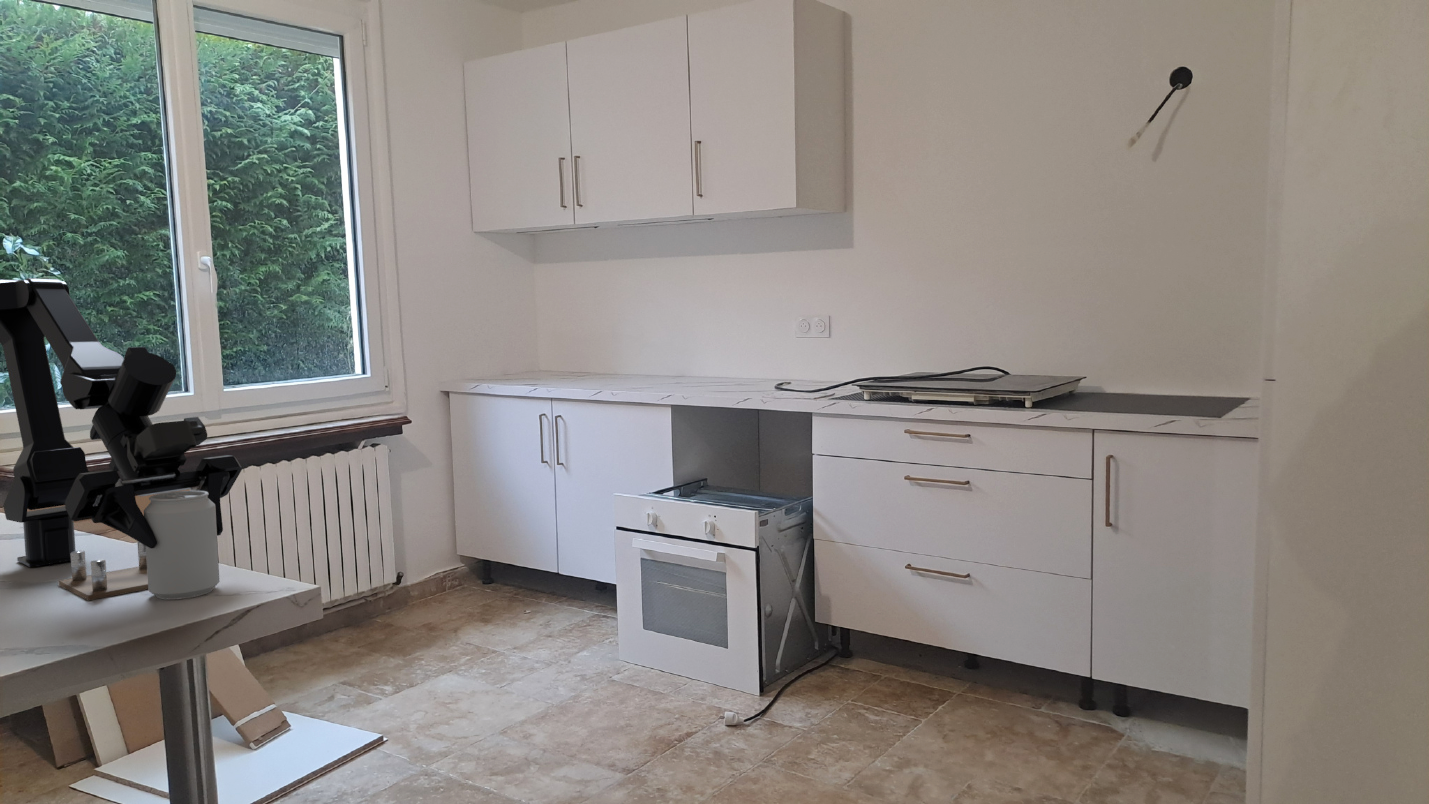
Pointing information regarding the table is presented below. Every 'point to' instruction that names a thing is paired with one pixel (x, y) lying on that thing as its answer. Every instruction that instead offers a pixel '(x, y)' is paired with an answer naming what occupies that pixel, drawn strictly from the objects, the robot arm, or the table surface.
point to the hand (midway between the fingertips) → (188, 539)
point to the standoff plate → (105, 577)
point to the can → (182, 545)
